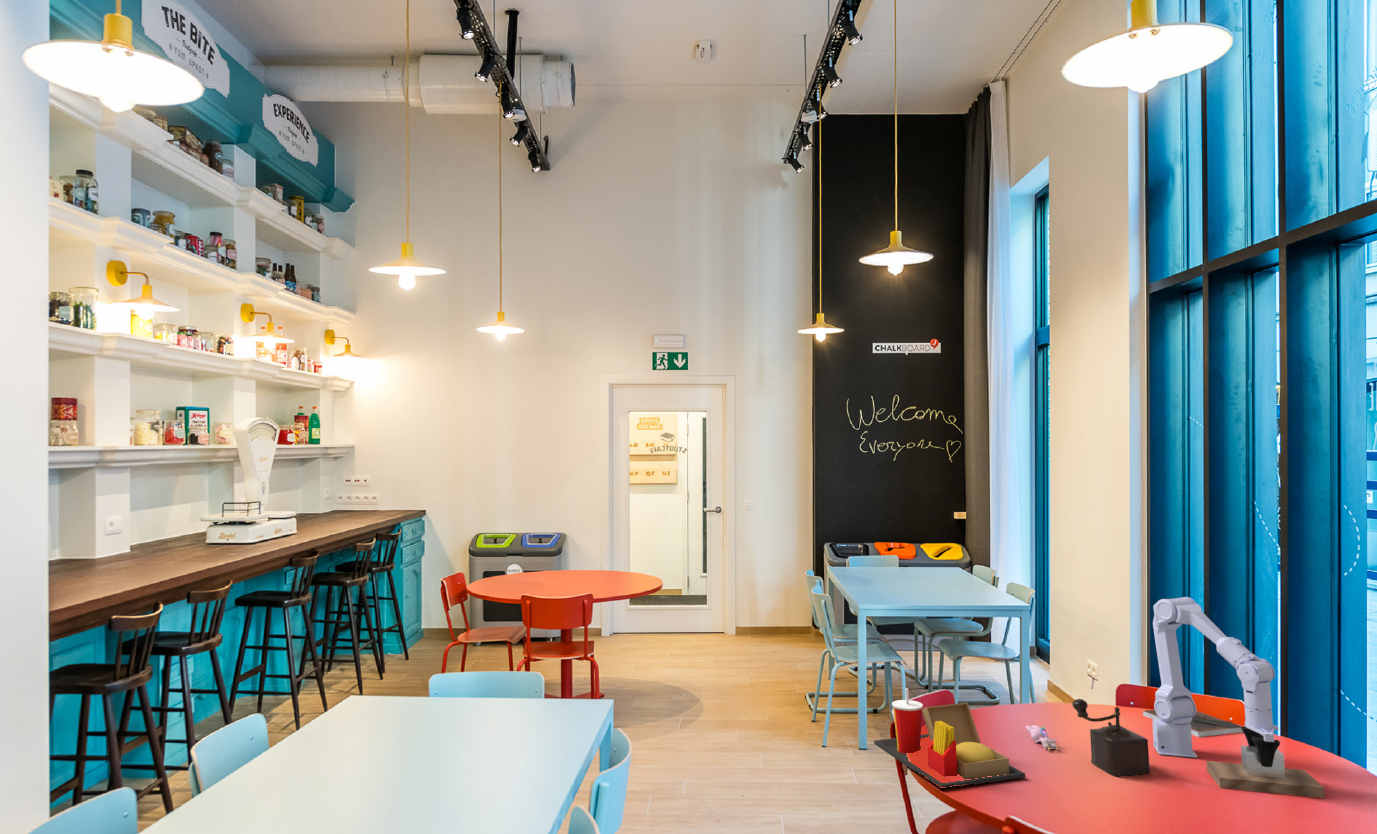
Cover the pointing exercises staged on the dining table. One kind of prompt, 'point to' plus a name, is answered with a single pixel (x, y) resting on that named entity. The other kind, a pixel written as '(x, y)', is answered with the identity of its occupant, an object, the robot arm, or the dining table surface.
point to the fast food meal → (946, 743)
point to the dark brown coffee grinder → (1115, 746)
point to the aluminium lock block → (1254, 766)
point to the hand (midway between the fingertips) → (1261, 761)
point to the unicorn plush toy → (1041, 737)
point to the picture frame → (1204, 724)
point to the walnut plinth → (1265, 780)
